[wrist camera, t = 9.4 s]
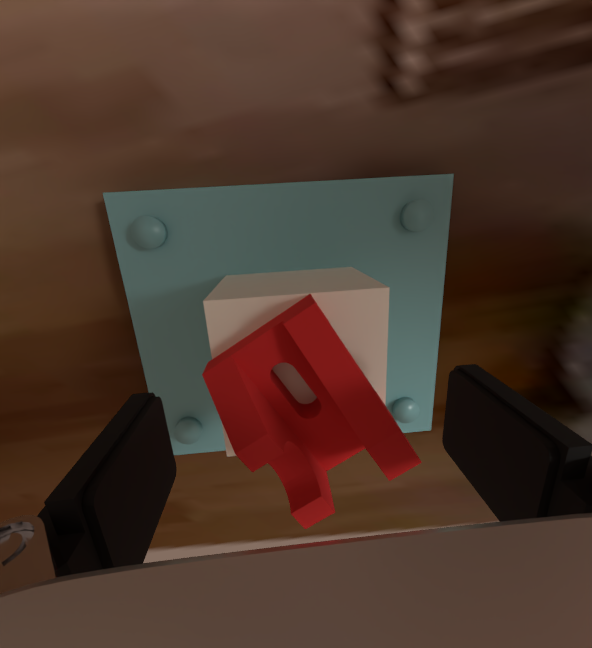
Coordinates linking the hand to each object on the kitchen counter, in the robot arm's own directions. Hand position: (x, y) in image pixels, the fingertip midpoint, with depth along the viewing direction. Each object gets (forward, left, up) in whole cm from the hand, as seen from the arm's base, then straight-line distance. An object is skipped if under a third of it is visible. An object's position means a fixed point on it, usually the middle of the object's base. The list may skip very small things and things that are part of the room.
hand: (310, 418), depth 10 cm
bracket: (0, +1, -3) cm, 3 cm away
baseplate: (0, 0, -10) cm, 10 cm away
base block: (0, 0, -9) cm, 9 cm away
